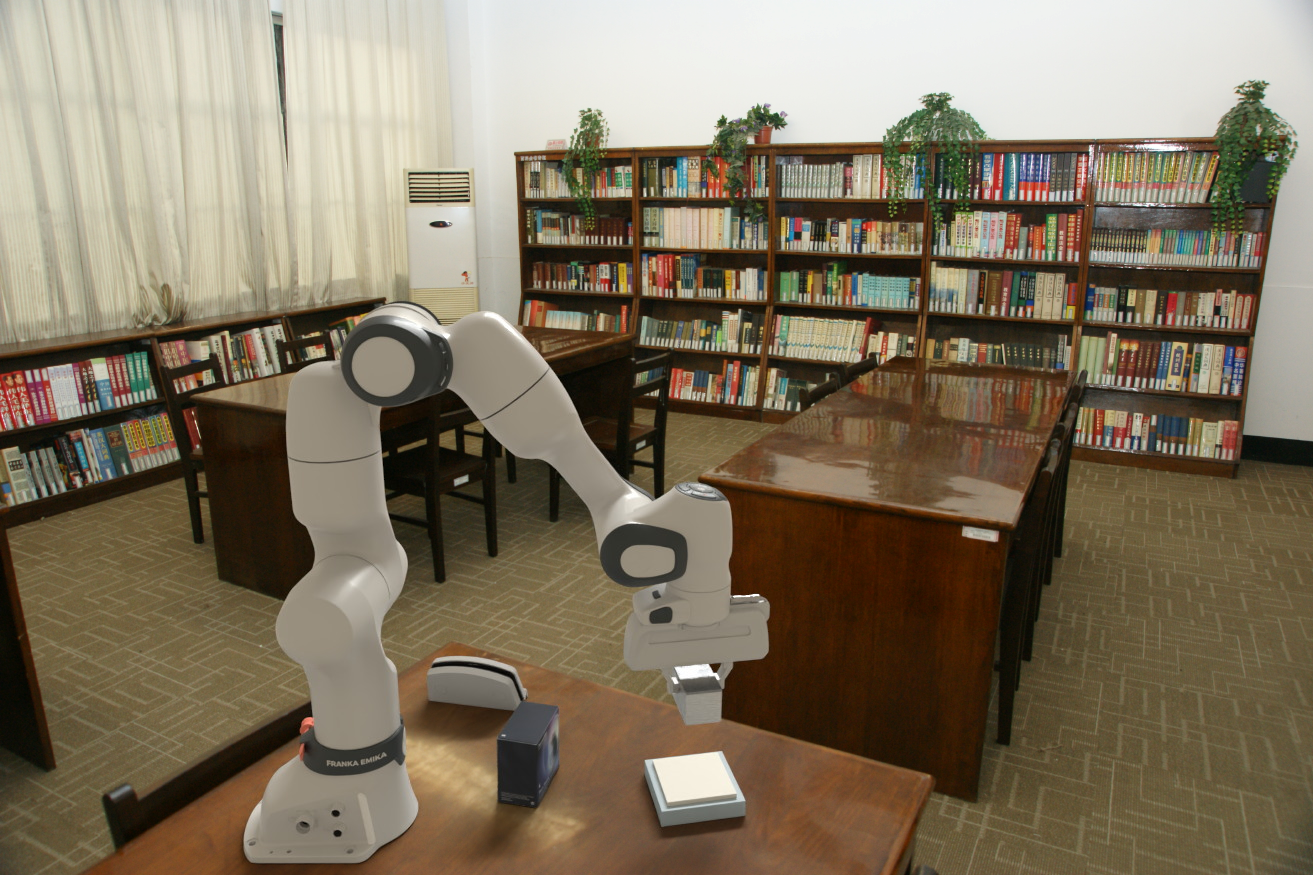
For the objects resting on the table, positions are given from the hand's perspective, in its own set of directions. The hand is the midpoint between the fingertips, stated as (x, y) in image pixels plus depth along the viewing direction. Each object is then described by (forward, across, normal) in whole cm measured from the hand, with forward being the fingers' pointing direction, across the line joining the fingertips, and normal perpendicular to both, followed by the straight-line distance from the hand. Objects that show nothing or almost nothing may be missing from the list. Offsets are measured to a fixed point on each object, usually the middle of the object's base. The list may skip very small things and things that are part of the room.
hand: (695, 689), depth 127 cm
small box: (+17, +23, -7) cm, 29 cm away
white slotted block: (+17, +30, -31) cm, 47 cm away
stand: (+17, 0, 0) cm, 17 cm away
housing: (+3, 0, 0) cm, 3 cm away
